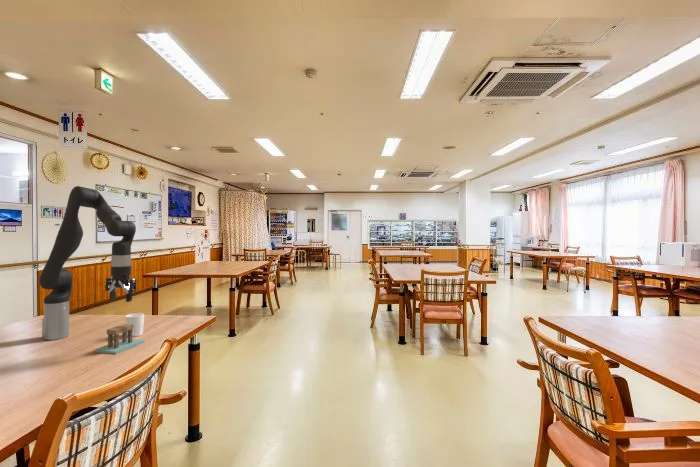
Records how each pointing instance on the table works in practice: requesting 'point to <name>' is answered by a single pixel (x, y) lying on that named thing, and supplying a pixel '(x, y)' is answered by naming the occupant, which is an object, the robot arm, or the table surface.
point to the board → (122, 347)
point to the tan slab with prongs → (116, 332)
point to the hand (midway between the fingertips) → (120, 301)
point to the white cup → (136, 323)
